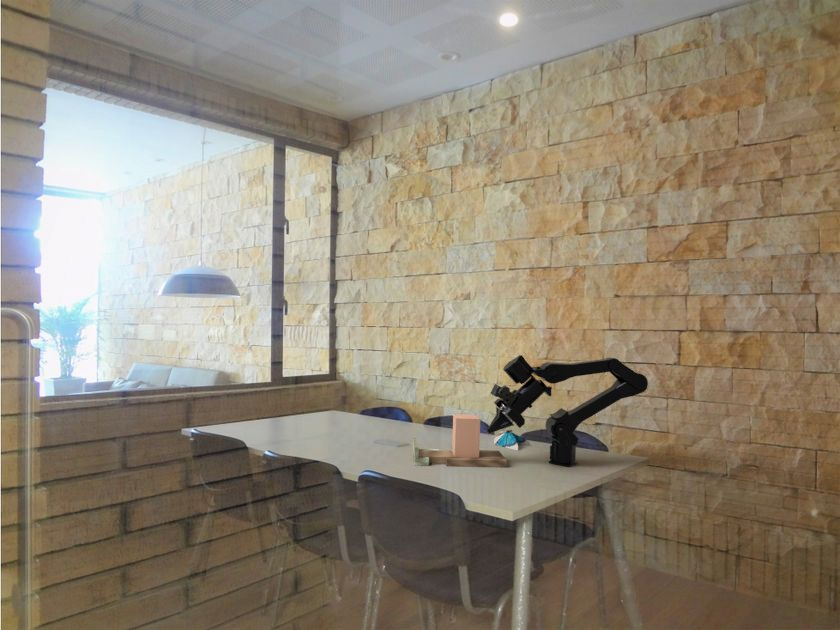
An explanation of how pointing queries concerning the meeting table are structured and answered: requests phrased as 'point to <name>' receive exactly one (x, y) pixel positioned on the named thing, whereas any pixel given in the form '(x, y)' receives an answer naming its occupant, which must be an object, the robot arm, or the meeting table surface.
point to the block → (466, 435)
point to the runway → (457, 458)
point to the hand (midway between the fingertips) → (487, 431)
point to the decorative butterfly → (510, 440)
